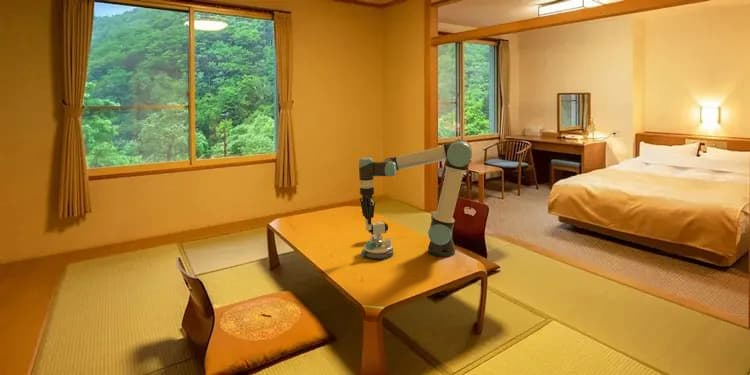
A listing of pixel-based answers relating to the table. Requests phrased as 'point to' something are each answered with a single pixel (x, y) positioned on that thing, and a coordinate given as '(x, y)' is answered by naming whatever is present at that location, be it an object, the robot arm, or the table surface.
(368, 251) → the lathe chuck
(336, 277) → the table surface
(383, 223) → the pneumatic valve
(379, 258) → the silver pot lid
